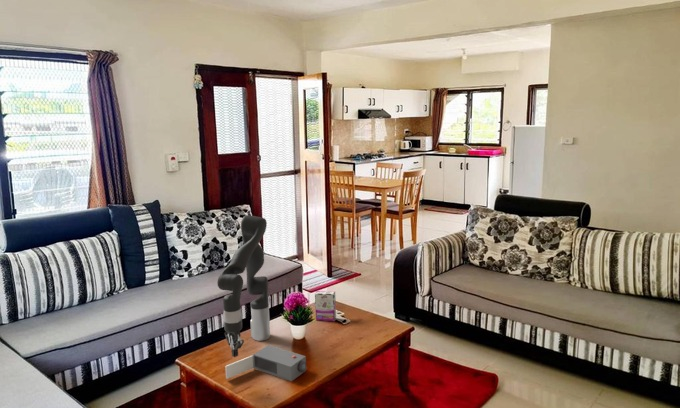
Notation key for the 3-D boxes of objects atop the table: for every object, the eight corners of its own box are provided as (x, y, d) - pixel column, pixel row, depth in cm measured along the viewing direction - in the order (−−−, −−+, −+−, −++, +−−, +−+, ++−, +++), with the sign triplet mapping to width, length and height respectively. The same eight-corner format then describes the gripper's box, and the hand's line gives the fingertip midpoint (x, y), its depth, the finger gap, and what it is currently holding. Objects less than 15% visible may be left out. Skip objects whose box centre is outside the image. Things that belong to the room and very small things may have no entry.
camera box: (253, 368, 223) (253, 353, 222) (269, 358, 232) (268, 343, 231) (294, 382, 211) (293, 366, 209) (309, 371, 220) (308, 355, 218)
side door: (253, 366, 223) (252, 354, 222) (254, 367, 222) (254, 355, 221) (225, 378, 214) (224, 365, 213) (226, 379, 213) (226, 366, 212)
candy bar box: (336, 318, 278) (335, 291, 275) (334, 321, 273) (334, 294, 270) (317, 317, 280) (316, 290, 277) (315, 320, 275) (314, 293, 272)
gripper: (217, 316, 208) (220, 353, 211) (232, 326, 198) (235, 364, 202) (232, 311, 213) (235, 347, 216) (248, 320, 203) (250, 358, 207)
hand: (235, 356), depth 209 cm, fingers closed
